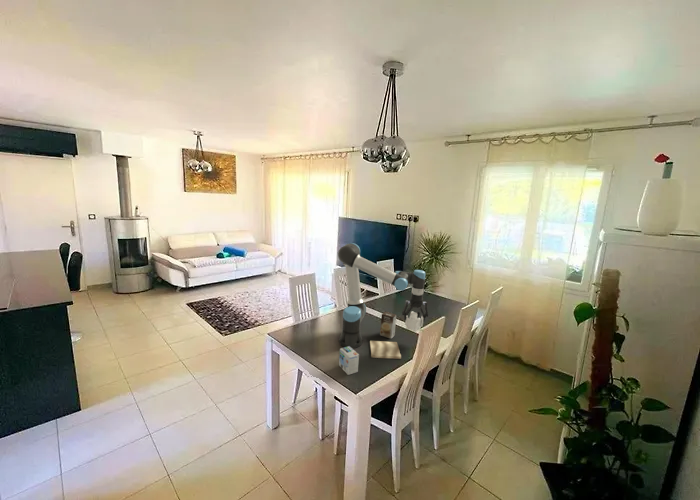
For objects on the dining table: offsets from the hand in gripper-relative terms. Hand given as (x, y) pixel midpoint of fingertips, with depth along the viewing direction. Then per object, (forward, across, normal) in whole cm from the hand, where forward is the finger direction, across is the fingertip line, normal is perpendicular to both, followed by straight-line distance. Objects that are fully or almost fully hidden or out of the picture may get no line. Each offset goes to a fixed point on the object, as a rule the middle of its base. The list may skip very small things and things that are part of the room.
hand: (413, 325), depth 199 cm
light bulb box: (+14, -42, -33) cm, 56 cm away
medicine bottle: (+2, 0, 0) cm, 2 cm away
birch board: (+13, -19, -11) cm, 26 cm away
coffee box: (+14, -15, +10) cm, 23 cm away
